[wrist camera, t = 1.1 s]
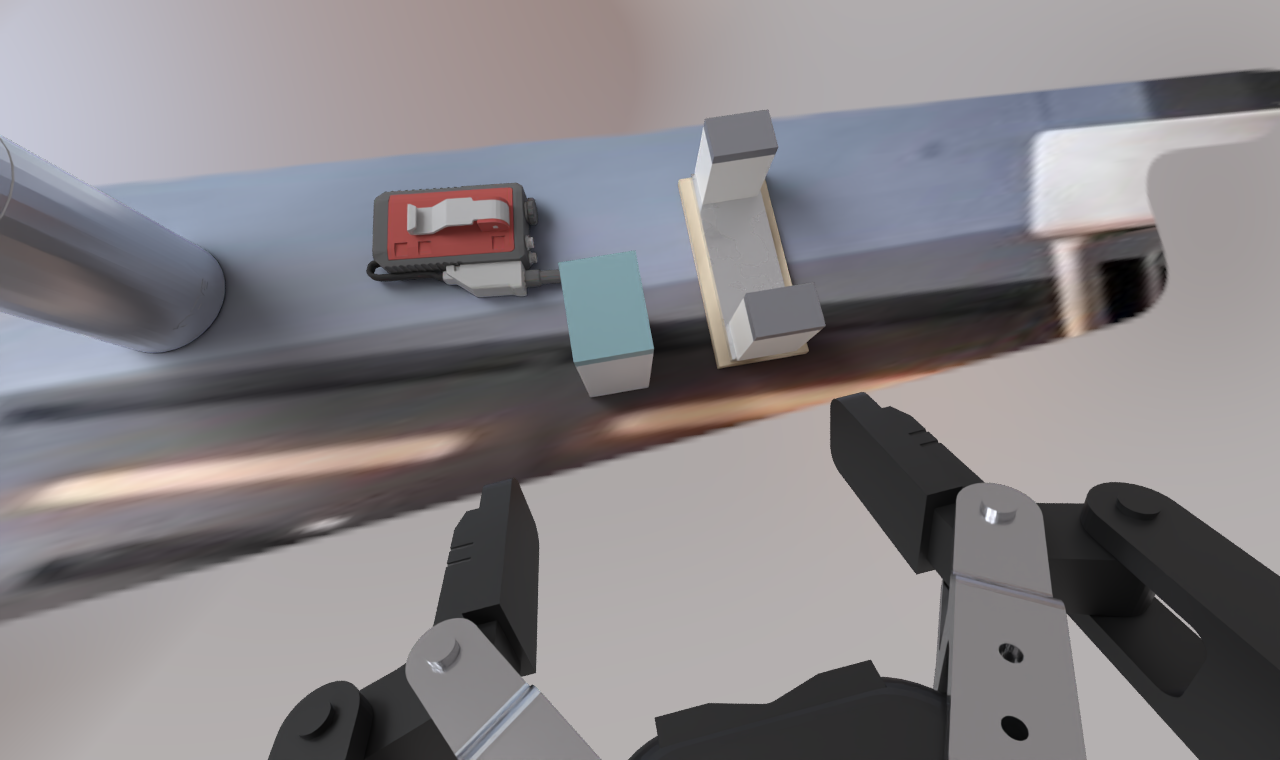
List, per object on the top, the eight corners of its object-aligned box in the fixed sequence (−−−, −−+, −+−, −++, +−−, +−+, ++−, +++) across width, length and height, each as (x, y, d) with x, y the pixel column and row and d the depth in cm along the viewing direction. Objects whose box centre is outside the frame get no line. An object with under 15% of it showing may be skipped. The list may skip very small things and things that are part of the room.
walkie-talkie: (375, 309, 41) (627, 291, 41) (345, 287, 36) (626, 267, 37) (378, 209, 43) (619, 192, 43) (349, 177, 38) (617, 159, 39)
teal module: (590, 397, 39) (573, 362, 28) (578, 323, 40) (558, 262, 30) (648, 387, 39) (654, 348, 28) (634, 314, 40) (635, 250, 30)
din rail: (730, 361, 39) (732, 359, 38) (690, 180, 42) (691, 174, 41) (796, 350, 39) (800, 347, 38) (751, 170, 42) (754, 164, 42)
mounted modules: (737, 361, 38) (756, 337, 32) (694, 171, 41) (705, 118, 35) (796, 351, 38) (825, 325, 32) (749, 163, 42) (768, 109, 36)
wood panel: (717, 368, 40) (719, 366, 39) (678, 185, 43) (678, 179, 42) (805, 353, 40) (808, 351, 39) (759, 172, 43) (761, 167, 42)
